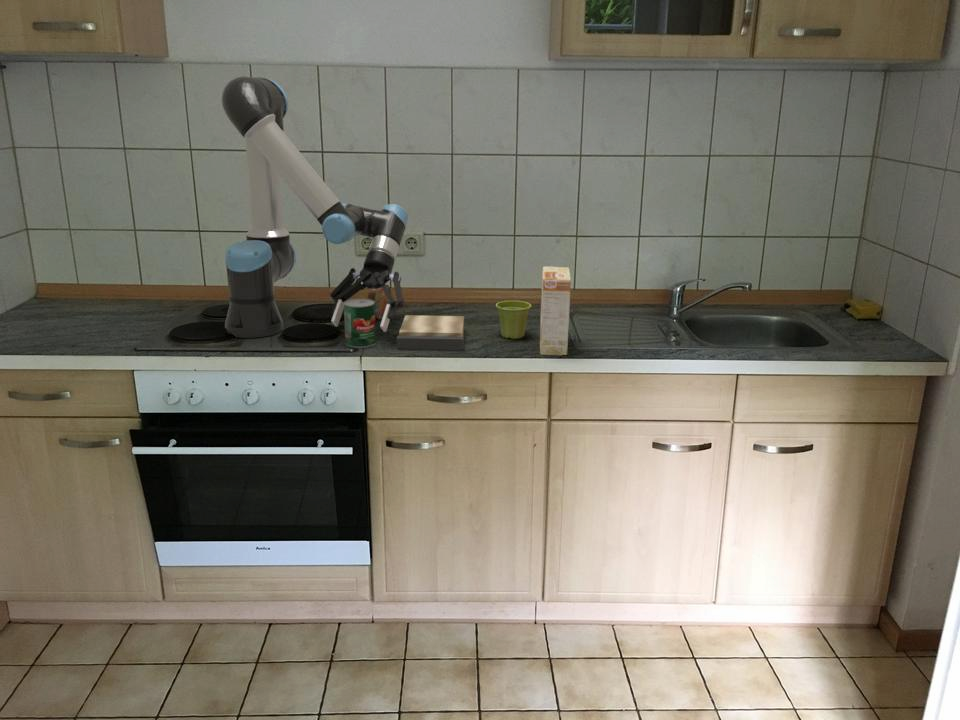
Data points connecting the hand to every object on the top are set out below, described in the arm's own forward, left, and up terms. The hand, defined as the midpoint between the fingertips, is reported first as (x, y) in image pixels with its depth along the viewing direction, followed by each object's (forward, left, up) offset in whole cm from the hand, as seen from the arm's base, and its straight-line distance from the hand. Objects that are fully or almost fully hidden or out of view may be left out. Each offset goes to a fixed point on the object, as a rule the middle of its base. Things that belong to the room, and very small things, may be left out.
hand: (358, 326), depth 198 cm
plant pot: (+6, +41, -5) cm, 41 cm away
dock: (+1, +20, -5) cm, 20 cm away
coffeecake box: (+18, +47, -5) cm, 50 cm away
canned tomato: (-1, +1, -5) cm, 6 cm away
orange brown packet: (-26, +13, -5) cm, 30 cm away
